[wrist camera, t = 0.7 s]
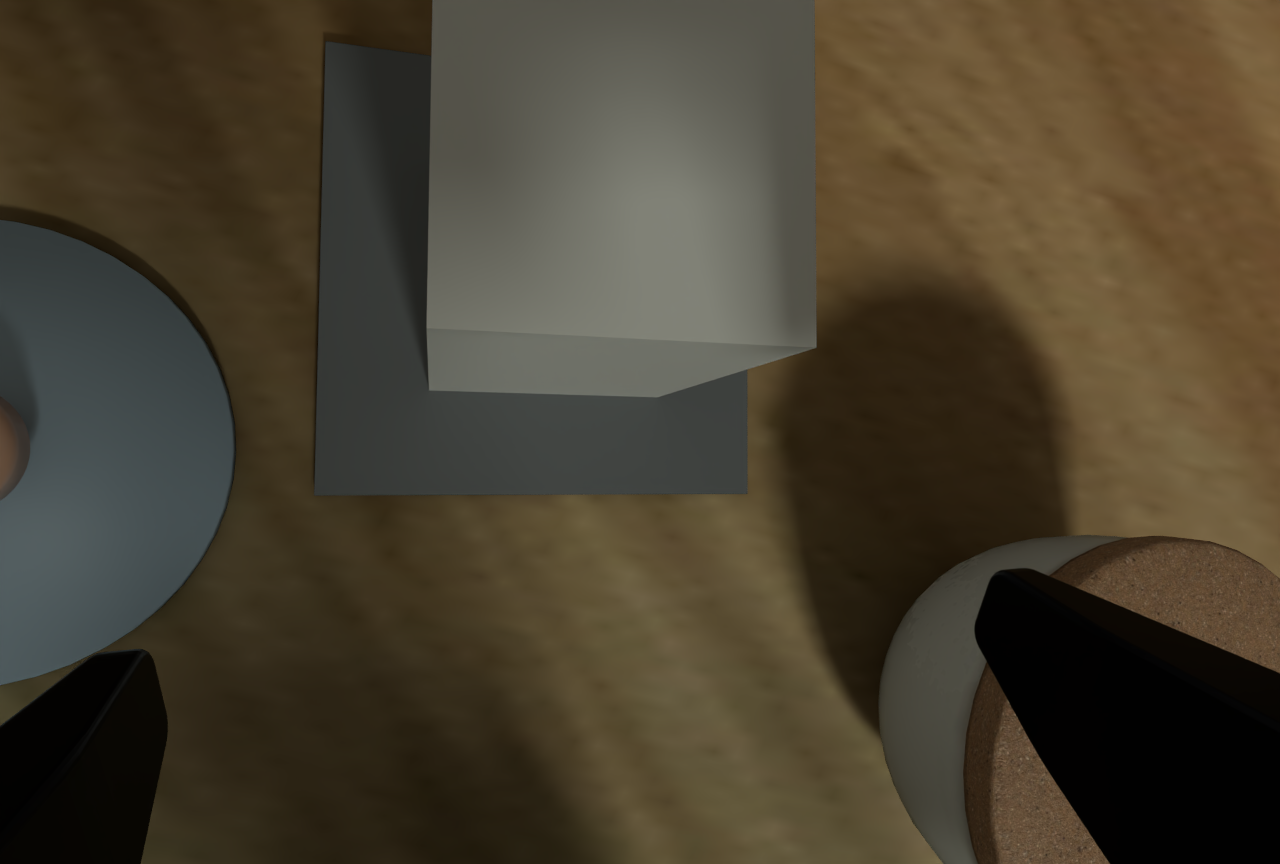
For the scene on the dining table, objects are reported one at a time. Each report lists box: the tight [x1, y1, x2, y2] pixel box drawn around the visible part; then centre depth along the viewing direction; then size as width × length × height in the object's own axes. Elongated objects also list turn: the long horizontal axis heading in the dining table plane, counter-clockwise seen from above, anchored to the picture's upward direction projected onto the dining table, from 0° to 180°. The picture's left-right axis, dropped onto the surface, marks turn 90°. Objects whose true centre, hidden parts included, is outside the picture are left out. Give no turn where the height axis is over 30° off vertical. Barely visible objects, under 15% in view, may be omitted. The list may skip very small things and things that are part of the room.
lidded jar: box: [878, 535, 1280, 864], centre depth 21 cm, size 11×11×9 cm
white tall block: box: [427, 0, 816, 397], centre depth 17 cm, size 6×6×10 cm
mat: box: [314, 41, 747, 495], centre depth 22 cm, size 12×12×1 cm
